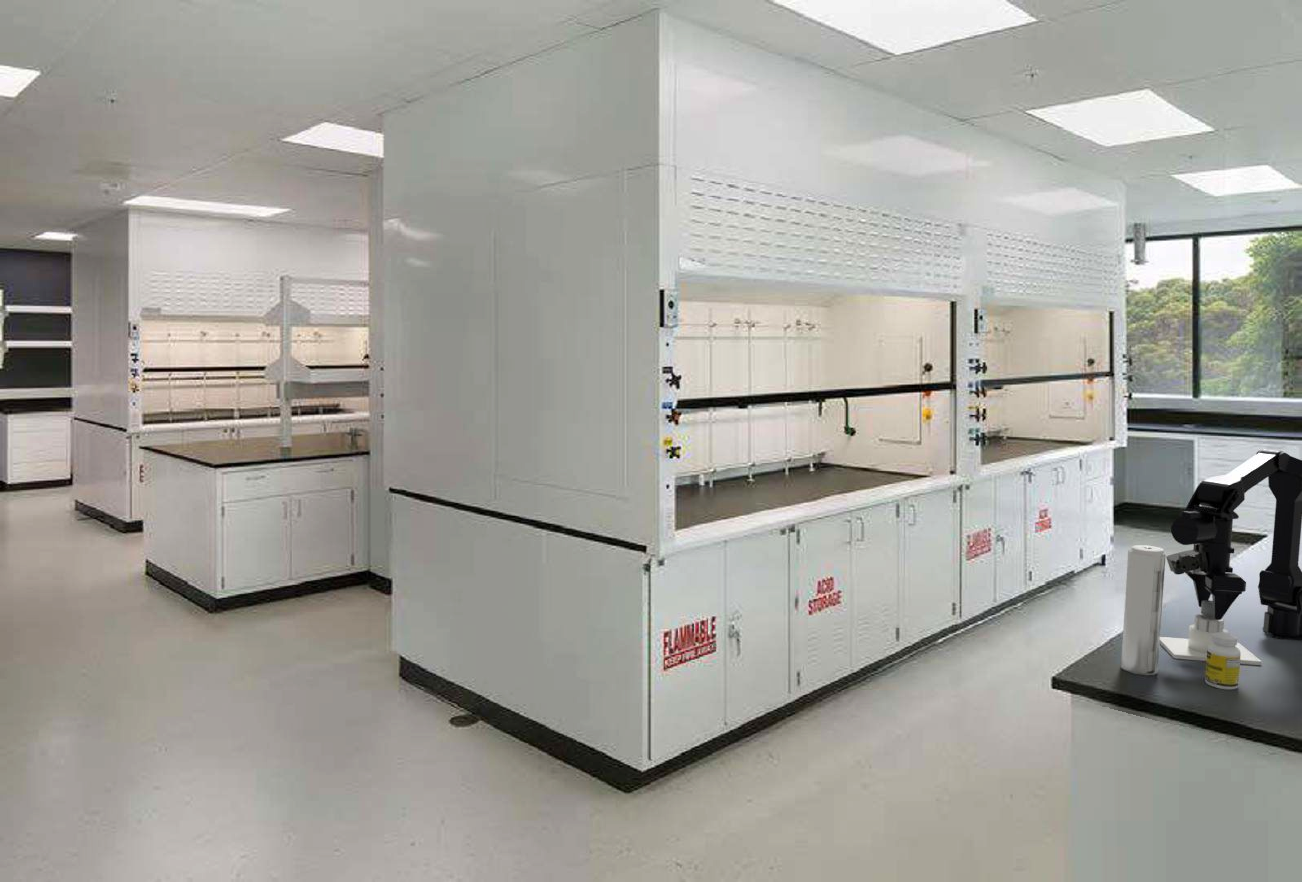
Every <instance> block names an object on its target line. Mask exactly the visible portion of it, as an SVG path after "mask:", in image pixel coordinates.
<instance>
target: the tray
mask: <svg viewBox="0 0 1302 882" xmlns="http://www.w3.org/2000/svg"><path fill="white" fill-rule="evenodd" d="M1188 639H1189V638H1182V637H1169V636H1167V637H1166V636H1160V645H1161V646H1162V647H1163V648H1164V650H1166V652H1168V654H1169V655H1170V656H1171V657H1172V658H1174V659H1175V660H1176V659H1179V660H1188V661H1190V660H1191V661H1202V662H1206V659H1207V653H1203V652H1199V651H1195V650H1193V649H1191V648H1189V647H1188ZM1235 647H1237V648H1238V649H1239V650H1240V652H1241V656H1240V665H1251V666H1252V665H1253V666H1262V665H1263V664H1262V663H1263V662H1262V660H1261V659H1259V658H1258V657H1257V656H1255V654H1253V653H1252V652H1251V651H1250V650H1248V649H1247V648H1246V647H1245V646H1243V645H1242V644H1241V643H1240V642H1237V645H1236V646H1235Z"/></svg>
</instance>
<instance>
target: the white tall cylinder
mask: <svg viewBox="0 0 1302 882" xmlns="http://www.w3.org/2000/svg"><path fill="white" fill-rule="evenodd" d="M1126 562H1127V563H1126V565H1127V566H1126V578H1125V597H1124V610H1123V611H1124V612H1123V630H1122V641H1121V642H1122V645H1121V659H1120V660H1121V661H1120V666H1121V667H1120V668H1121V669H1122V670H1124V671H1125V672H1128V673H1131V674H1135V675H1139V676H1155V675H1156V674H1158V672H1159V659H1160V645H1161V644H1160V637H1161V628H1162V627H1161V626H1162V613H1163V599H1164V583H1165V570H1166V569H1165V567H1166V553H1165V549H1164V548H1162V547H1158V546H1153V545H1145V544H1137V545H1132V546H1131V548H1130V549H1128V550H1127V561H1126Z"/></svg>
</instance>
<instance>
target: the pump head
mask: <svg viewBox="0 0 1302 882" xmlns="http://www.w3.org/2000/svg"><path fill="white" fill-rule="evenodd" d="M1201 614H1204V619H1208V620H1215V618H1214V610H1213V600H1210V599H1209V600H1203V601H1202V604H1201V607H1200V615H1201Z"/></svg>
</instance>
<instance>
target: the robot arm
mask: <svg viewBox="0 0 1302 882" xmlns="http://www.w3.org/2000/svg"><path fill="white" fill-rule="evenodd" d="M1266 479H1268V488H1269V490H1270V491H1271V494H1272V495H1273V497H1274V498H1275V507H1274V508H1275V509H1274V521H1273V523H1274V524H1273V536H1272V548H1271V549H1272V550H1271V559H1270V561H1271V562H1270V564H1269V565H1268V566H1266V568H1265V569H1264V570H1263V569H1262V570H1261V571H1260V572H1259V576H1258V577H1259V582H1258V585H1257V588H1258V594H1259V601H1260V602H1259V603H1260V605H1261V606H1267V609H1266V610H1267V611H1265V612H1264V618H1263V627H1262V630H1263V631H1264V632H1266V633H1267V635H1270V636H1271V637H1272V638H1274V639H1275V638H1276V639H1287V640H1298V641H1299V640H1301V641H1302V569H1301V568H1300V566H1299V559H1300V549H1301V547H1300V546H1301V545H1300V544H1301V537H1302V536H1301V534H1302V459H1299V458H1296V457H1294V456H1291V455H1290V454H1288V453H1287V452H1284V451H1282V450H1274V449H1264V448H1263V449H1261V450H1258V451H1256V453H1255V455H1254V456H1252V457H1251V458H1249V459H1248V460H1246V461H1245V462H1244V463H1242V464H1240V465H1238V466H1237V467H1236V468H1234V469H1233V470H1231V471H1230V472H1228V473H1225V474H1223V475H1215V476H1211V477H1208V478H1205V479H1203V480H1202V481H1201V482H1200V483H1199V484H1198V485H1197V487H1196V488H1195V490H1194V492H1193V494H1192V496H1191V498H1190V500H1189V501H1188V504H1187V505H1186V507H1185V509H1184V511H1183V510H1182V511H1181V516H1180V517H1178V518H1176V519H1175V520H1174V521H1173V523H1172V525H1171V526H1170V531H1171V535H1172V538H1173V540H1174V541H1175V542H1177V544H1181V545H1183V546H1188V545H1189V546H1190V545H1193V547H1192V548H1193V549H1188V550H1185V551H1180V552H1176V553H1172V554H1167V556H1165V559H1166V561H1167V563H1168V567H1169V570H1170V572H1173V573H1174V575H1178V576H1179V575H1184V574H1185V575H1186V576H1187V577H1188V578H1190V579H1191V581H1193V582H1192V583H1193V586H1194V591H1195V596H1196V600H1197V604H1198V607H1200V608H1201V604H1202V601H1203V600H1210V598H1212V599H1211V600H1212V601H1213V610H1214V618H1215V619H1216V620H1221V619H1224V618H1223V617H1224V616H1225V615H1226V613H1227V612H1228V610H1229V609H1230V607H1231V606H1232V604H1234V603H1235V601H1236V599H1237V598H1238V597H1239V595H1242V594H1243V593H1244V592H1246V590H1247V589H1246V588H1247V582H1246V581H1245V579H1244V578H1242V577H1241V576H1240V575H1238V574H1236V573H1234V572H1233V570H1234V567H1232V566H1230V565H1231V564H1230V562H1231V554H1235V547H1232V537H1233V522H1234V520H1237V519H1238V520H1239V518H1240V516H1239V514H1238V513H1236V512H1235V510H1236V509H1237V508H1238V507H1239V506H1240V505H1241V504H1242V503H1243V502H1244V501H1245V499H1246V498H1245V497H1246V496H1245V495H1246V492H1248V491H1249V490H1251V489H1252V488H1254V487H1255V486H1257V485H1258V484H1259V483H1261V482H1262V481H1264V480H1266Z"/></svg>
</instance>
